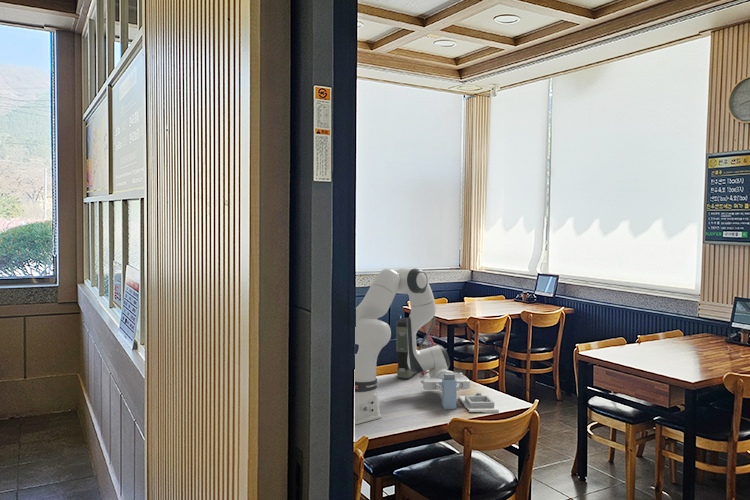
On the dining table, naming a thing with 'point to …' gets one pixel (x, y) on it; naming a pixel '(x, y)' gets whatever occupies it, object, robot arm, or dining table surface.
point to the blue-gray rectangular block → (449, 391)
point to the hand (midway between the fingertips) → (449, 388)
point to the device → (402, 351)
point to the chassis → (479, 403)
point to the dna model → (427, 336)
